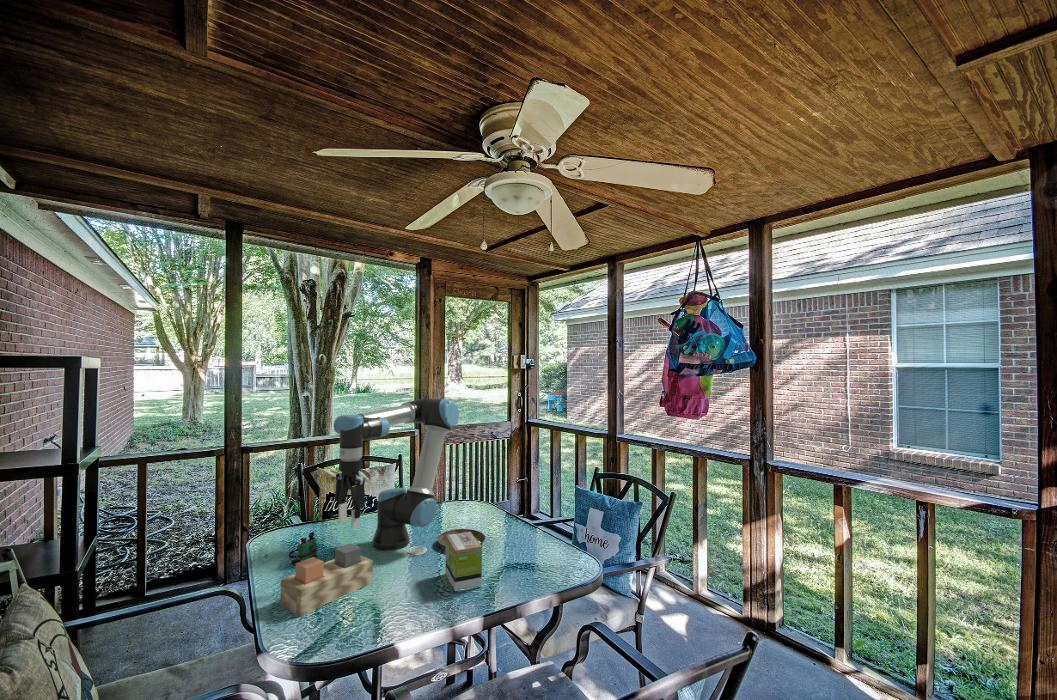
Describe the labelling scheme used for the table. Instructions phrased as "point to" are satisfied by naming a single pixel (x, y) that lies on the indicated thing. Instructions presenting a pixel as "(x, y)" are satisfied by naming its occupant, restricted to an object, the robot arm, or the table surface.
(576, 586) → the table surface
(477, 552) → the tea box
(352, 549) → the gray block
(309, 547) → the binoculars
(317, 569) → the terracotta plunger
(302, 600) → the frame
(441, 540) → the plant saucer
